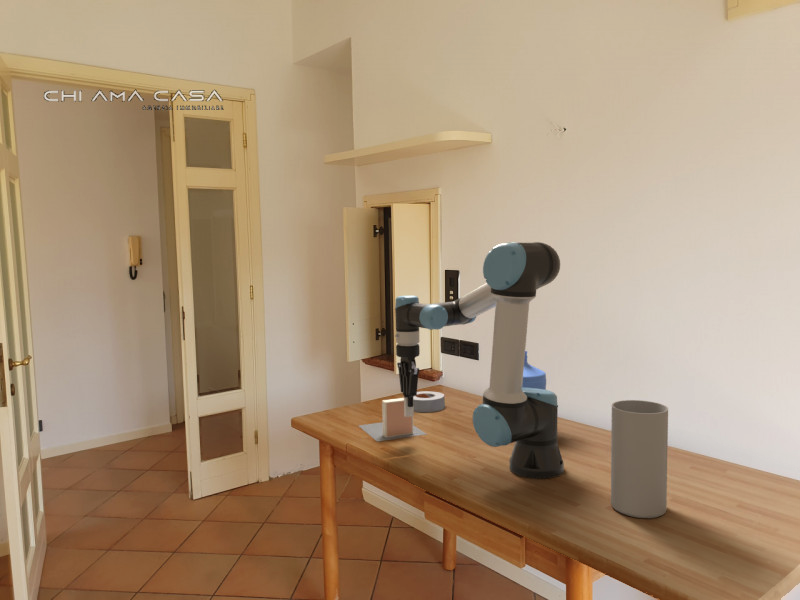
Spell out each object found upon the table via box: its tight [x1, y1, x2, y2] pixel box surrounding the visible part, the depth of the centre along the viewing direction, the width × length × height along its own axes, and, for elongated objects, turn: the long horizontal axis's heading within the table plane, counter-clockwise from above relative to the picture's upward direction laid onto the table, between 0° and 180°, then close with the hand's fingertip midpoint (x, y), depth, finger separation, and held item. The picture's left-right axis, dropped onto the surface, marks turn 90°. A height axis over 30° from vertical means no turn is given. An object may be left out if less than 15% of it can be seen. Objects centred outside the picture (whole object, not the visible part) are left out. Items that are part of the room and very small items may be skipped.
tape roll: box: [413, 390, 446, 413], centre depth 244 cm, size 15×15×5 cm
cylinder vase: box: [610, 399, 669, 519], centre depth 146 cm, size 12×12×25 cm
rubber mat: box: [358, 422, 427, 442], centre depth 213 cm, size 20×18×1 cm
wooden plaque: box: [381, 397, 414, 438], centre depth 207 cm, size 3×10×12 cm, turn 112°
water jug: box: [522, 350, 547, 390], centre depth 208 cm, size 16×16×28 cm
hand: (409, 415), depth 198 cm, fingers closed
